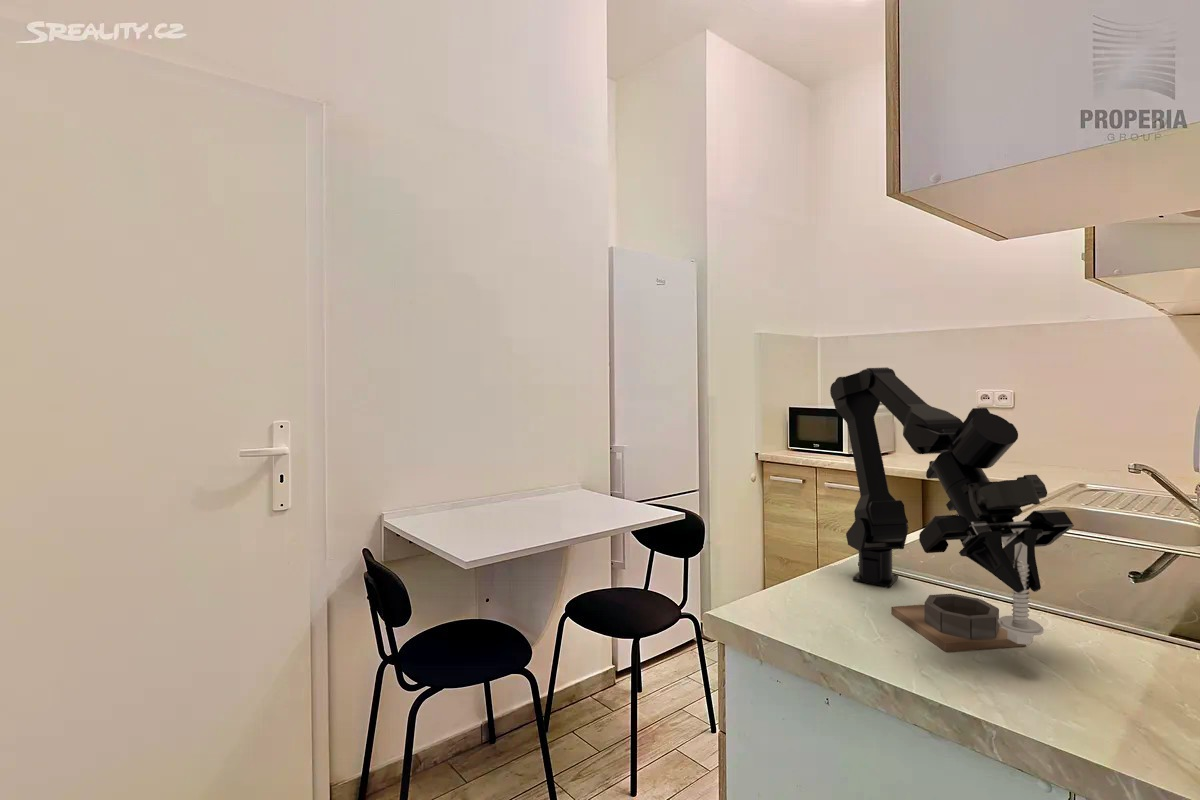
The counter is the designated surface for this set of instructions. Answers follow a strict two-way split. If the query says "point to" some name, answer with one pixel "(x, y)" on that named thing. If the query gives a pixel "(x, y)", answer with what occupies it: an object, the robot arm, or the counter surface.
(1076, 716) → the counter surface
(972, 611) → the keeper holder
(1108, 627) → the counter surface
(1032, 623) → the screw
